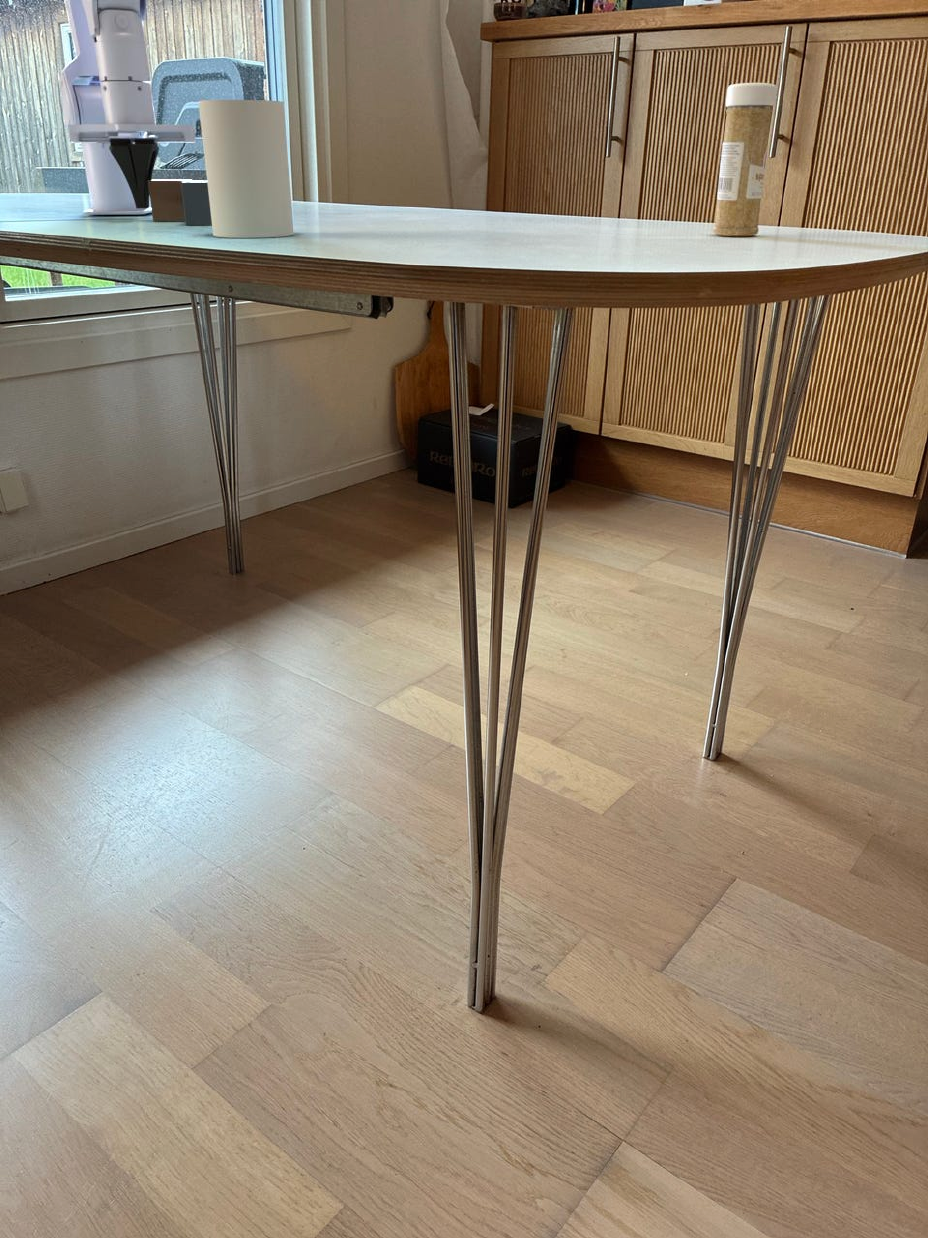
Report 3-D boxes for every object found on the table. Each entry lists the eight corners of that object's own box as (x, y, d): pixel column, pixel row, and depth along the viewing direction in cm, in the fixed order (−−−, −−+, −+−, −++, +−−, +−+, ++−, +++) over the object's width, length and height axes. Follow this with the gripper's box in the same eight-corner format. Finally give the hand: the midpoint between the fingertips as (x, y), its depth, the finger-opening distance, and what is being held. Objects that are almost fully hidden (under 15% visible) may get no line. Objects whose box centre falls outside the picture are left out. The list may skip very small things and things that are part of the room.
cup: (266, 230, 102) (255, 104, 97) (309, 234, 97) (299, 101, 91) (198, 234, 97) (183, 101, 92) (239, 239, 92) (225, 98, 86)
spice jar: (764, 236, 94) (784, 81, 88) (718, 236, 94) (736, 81, 88) (749, 233, 98) (767, 85, 92) (706, 233, 98) (721, 85, 92)
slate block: (192, 222, 114) (187, 180, 112) (230, 222, 114) (226, 180, 112) (185, 225, 110) (180, 181, 107) (226, 224, 110) (221, 181, 108)
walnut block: (160, 219, 120) (154, 179, 118) (196, 218, 120) (192, 179, 118) (152, 221, 116) (147, 180, 114) (190, 221, 116) (186, 180, 114)
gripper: (52, 79, 107) (74, 209, 113) (182, 80, 108) (197, 209, 114) (69, 83, 113) (89, 206, 119) (192, 84, 114) (205, 206, 120)
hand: (143, 207), depth 117 cm, fingers closed
